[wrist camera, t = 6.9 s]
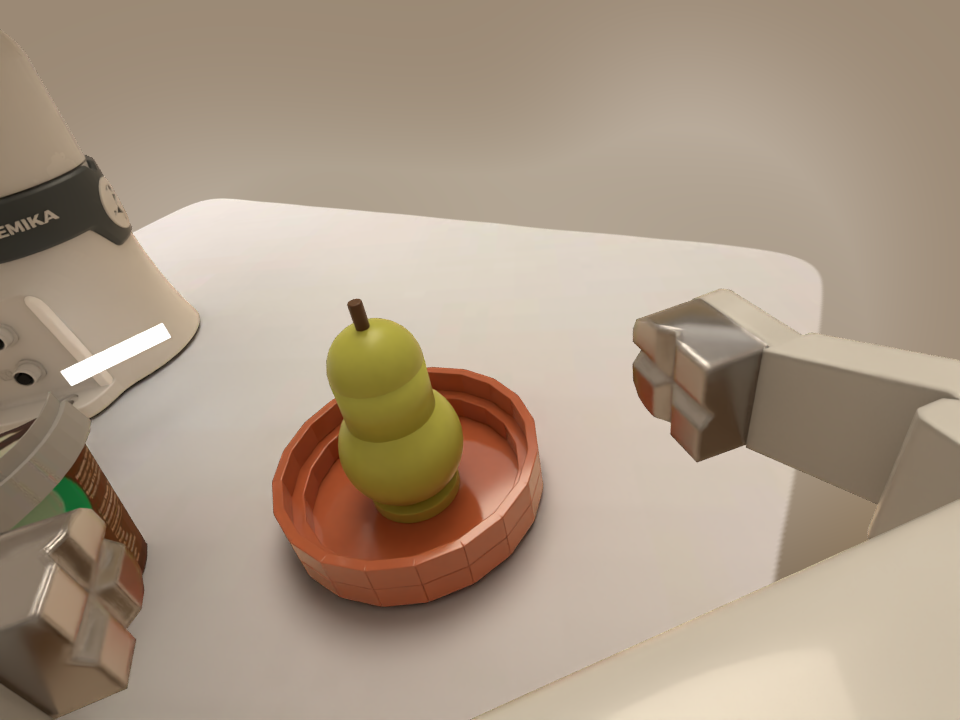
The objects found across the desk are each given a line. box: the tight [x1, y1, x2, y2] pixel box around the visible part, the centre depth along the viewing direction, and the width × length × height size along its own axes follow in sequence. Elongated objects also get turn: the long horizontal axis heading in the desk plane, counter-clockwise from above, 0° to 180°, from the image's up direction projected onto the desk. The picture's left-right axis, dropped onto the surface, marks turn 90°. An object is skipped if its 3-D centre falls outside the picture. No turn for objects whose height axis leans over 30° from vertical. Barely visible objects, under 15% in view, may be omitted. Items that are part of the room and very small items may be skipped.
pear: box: [326, 299, 463, 523], centre depth 26 cm, size 6×6×11 cm
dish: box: [272, 367, 543, 607], centre depth 28 cm, size 13×13×3 cm
